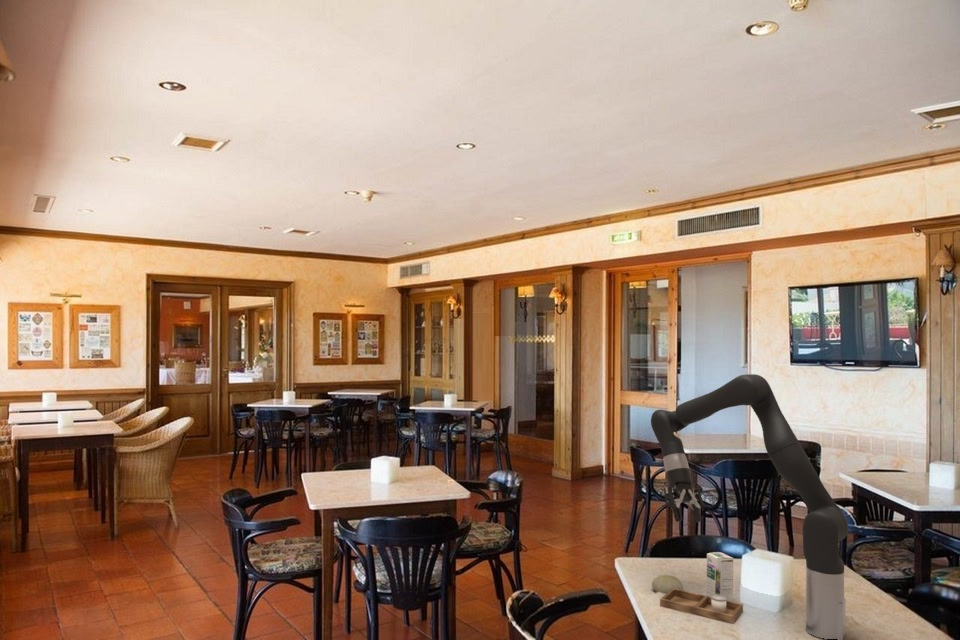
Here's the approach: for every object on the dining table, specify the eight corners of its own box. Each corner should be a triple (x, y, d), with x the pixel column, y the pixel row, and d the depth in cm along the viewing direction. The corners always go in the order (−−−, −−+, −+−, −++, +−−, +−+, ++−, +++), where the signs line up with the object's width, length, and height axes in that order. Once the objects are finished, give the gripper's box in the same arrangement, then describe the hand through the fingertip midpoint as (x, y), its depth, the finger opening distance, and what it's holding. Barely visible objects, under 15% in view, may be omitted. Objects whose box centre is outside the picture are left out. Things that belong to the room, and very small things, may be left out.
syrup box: (705, 601, 204) (705, 552, 204) (721, 599, 206) (721, 551, 206) (717, 608, 198) (717, 558, 199) (733, 606, 200) (734, 557, 201)
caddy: (742, 614, 194) (742, 604, 194) (732, 627, 185) (732, 616, 185) (672, 598, 206) (672, 588, 206) (659, 609, 196) (660, 599, 197)
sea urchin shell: (687, 592, 205) (668, 572, 207) (668, 609, 206) (649, 589, 208) (684, 582, 214) (666, 563, 216) (666, 598, 215) (648, 579, 217)
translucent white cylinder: (728, 612, 193) (728, 596, 193) (724, 616, 189) (724, 600, 190) (713, 608, 195) (713, 593, 195) (709, 613, 192) (709, 597, 192)
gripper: (670, 465, 209) (681, 518, 202) (701, 468, 216) (714, 519, 209) (653, 471, 215) (664, 523, 207) (684, 474, 222) (695, 524, 214)
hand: (689, 521), depth 208 cm, fingers open, 8 cm apart
